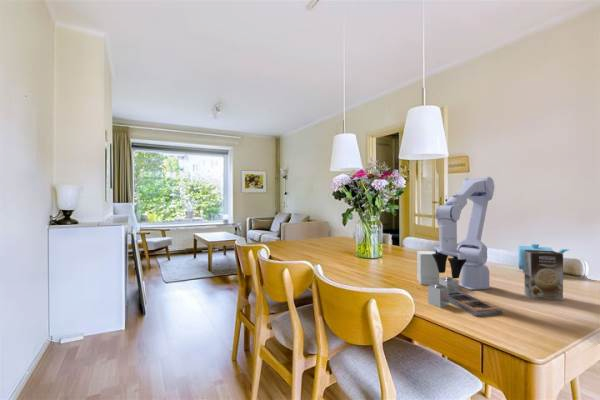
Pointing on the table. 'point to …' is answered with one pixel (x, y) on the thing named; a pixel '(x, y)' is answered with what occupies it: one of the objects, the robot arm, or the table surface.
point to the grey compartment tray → (473, 302)
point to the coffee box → (543, 275)
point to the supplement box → (427, 268)
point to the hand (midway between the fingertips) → (448, 275)
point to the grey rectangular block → (450, 284)
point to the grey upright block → (438, 295)
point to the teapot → (533, 247)
